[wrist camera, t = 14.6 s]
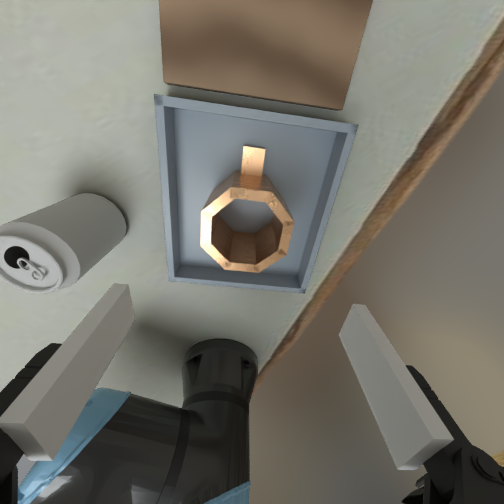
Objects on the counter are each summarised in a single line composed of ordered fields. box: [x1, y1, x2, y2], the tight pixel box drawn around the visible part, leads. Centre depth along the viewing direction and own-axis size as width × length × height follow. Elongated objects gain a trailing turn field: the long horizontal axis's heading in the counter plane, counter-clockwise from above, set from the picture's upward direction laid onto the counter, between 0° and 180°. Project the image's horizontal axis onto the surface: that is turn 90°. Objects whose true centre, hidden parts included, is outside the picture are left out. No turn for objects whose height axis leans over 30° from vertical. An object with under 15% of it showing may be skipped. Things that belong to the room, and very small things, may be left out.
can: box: [0, 193, 127, 294], centre depth 25 cm, size 8×8×12 cm
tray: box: [154, 94, 358, 293], centre depth 28 cm, size 22×20×4 cm
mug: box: [201, 145, 295, 273], centre depth 25 cm, size 12×9×8 cm
